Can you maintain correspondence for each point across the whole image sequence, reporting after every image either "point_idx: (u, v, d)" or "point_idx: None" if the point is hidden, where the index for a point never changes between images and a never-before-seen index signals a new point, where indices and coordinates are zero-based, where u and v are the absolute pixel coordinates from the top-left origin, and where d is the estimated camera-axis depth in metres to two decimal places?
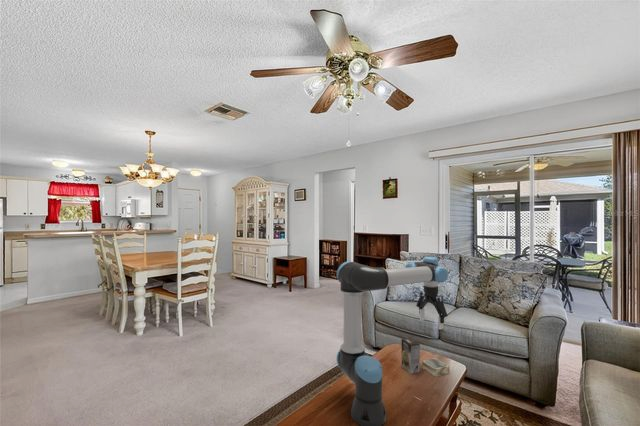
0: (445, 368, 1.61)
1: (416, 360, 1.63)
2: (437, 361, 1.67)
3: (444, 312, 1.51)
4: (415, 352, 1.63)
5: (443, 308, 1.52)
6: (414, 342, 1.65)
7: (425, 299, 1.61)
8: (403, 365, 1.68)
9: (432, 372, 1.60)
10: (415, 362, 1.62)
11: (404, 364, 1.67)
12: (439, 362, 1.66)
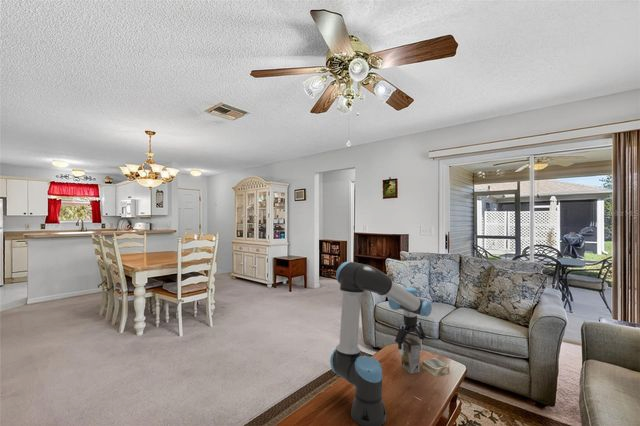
0: (445, 368, 1.61)
1: (416, 360, 1.63)
2: (437, 361, 1.67)
3: (397, 338, 1.63)
4: (415, 352, 1.63)
5: (398, 335, 1.64)
6: (414, 342, 1.65)
7: None
8: (403, 365, 1.68)
9: (432, 372, 1.60)
10: (415, 362, 1.62)
11: (404, 364, 1.67)
12: (439, 362, 1.66)
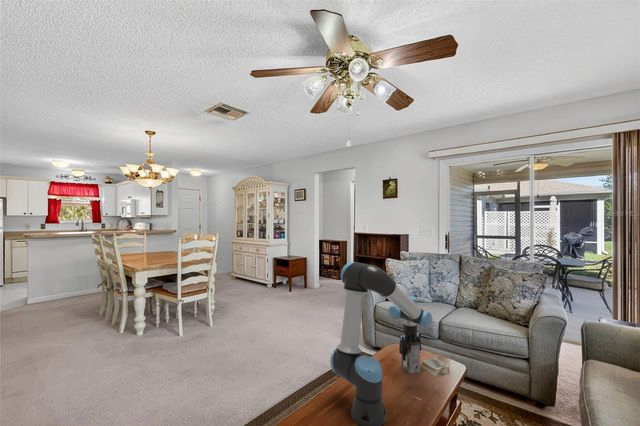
0: (445, 368, 1.61)
1: (416, 360, 1.63)
2: (437, 361, 1.67)
3: (400, 350, 1.64)
4: (415, 352, 1.63)
5: (401, 346, 1.64)
6: (414, 342, 1.65)
7: None
8: (403, 365, 1.68)
9: (432, 372, 1.60)
10: (415, 362, 1.62)
11: None
12: (439, 362, 1.66)
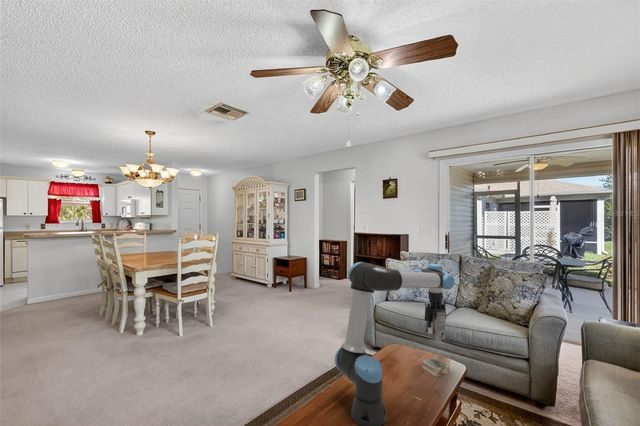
0: (445, 368, 1.61)
1: (441, 327, 1.61)
2: (437, 361, 1.67)
3: (426, 317, 1.63)
4: (441, 319, 1.61)
5: (426, 313, 1.63)
6: (439, 309, 1.64)
7: None
8: (428, 333, 1.67)
9: (432, 372, 1.60)
10: (440, 329, 1.61)
11: None
12: (439, 362, 1.66)
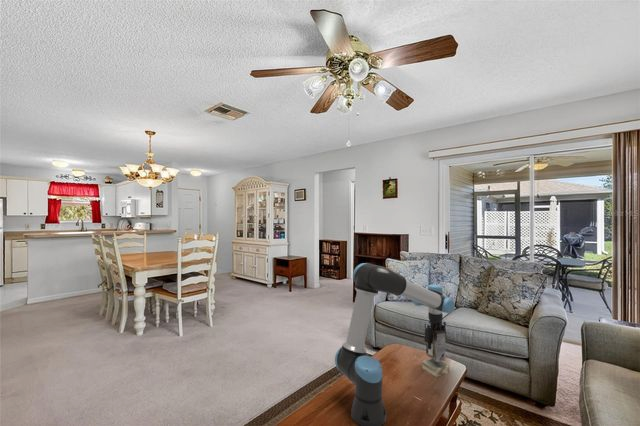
0: (445, 368, 1.61)
1: (442, 348, 1.61)
2: None
3: (426, 338, 1.63)
4: (441, 340, 1.61)
5: (426, 335, 1.63)
6: (439, 330, 1.63)
7: None
8: (428, 354, 1.67)
9: (432, 372, 1.60)
10: (440, 351, 1.61)
11: None
12: (439, 362, 1.66)
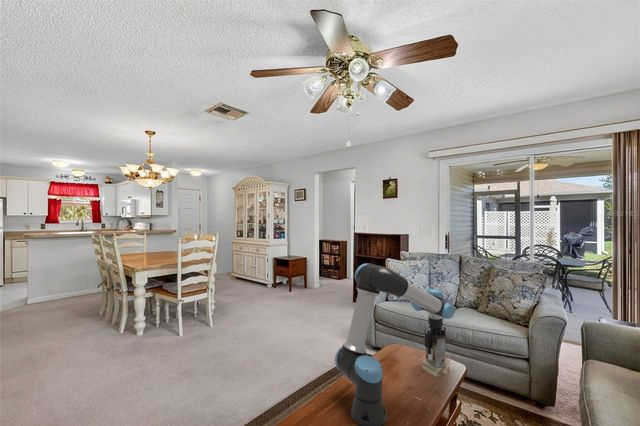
0: (445, 368, 1.61)
1: (441, 353, 1.61)
2: None
3: (425, 343, 1.63)
4: (441, 345, 1.61)
5: (426, 340, 1.63)
6: (439, 335, 1.63)
7: None
8: (428, 359, 1.66)
9: (432, 372, 1.60)
10: (440, 356, 1.61)
11: None
12: None
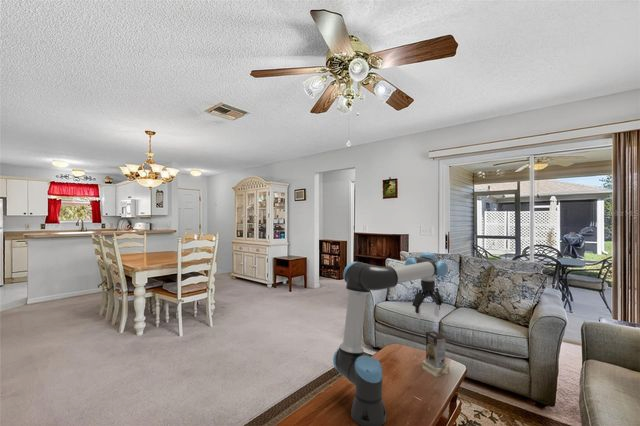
0: (445, 368, 1.61)
1: (441, 353, 1.61)
2: None
3: (414, 302, 1.63)
4: (441, 346, 1.61)
5: (416, 299, 1.64)
6: (439, 335, 1.63)
7: None
8: (428, 359, 1.66)
9: (432, 372, 1.60)
10: (440, 356, 1.61)
11: (429, 358, 1.65)
12: None
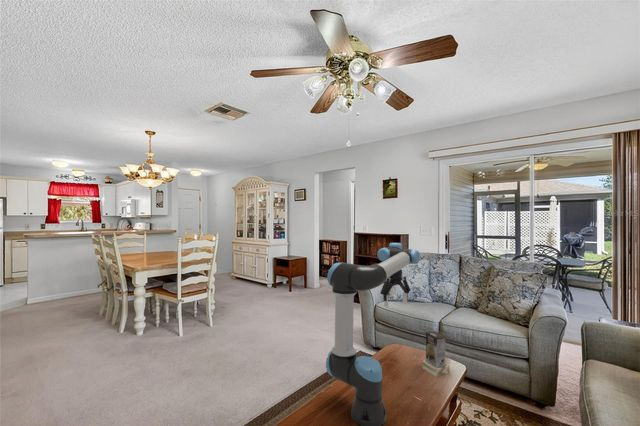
0: (445, 368, 1.61)
1: (441, 353, 1.61)
2: None
3: (382, 290, 1.69)
4: (441, 346, 1.61)
5: (383, 287, 1.70)
6: (439, 335, 1.63)
7: None
8: (428, 359, 1.66)
9: (432, 372, 1.60)
10: (440, 356, 1.61)
11: (429, 358, 1.65)
12: None
